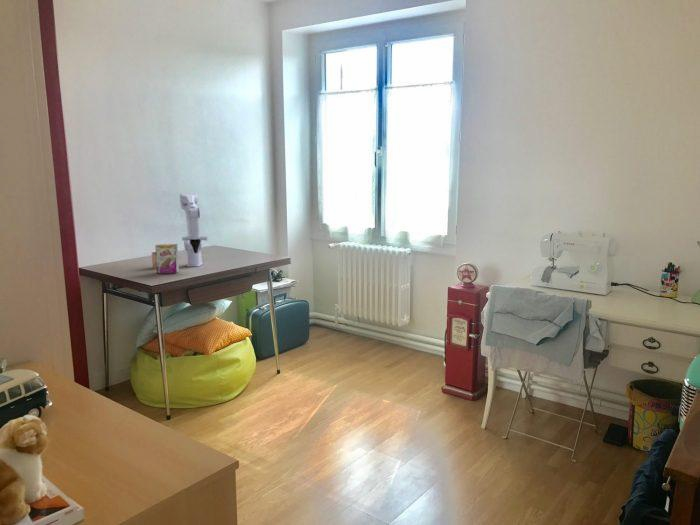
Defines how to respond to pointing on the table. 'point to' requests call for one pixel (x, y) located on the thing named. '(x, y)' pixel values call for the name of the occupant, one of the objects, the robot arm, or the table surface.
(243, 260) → the table surface
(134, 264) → the table surface
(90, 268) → the table surface
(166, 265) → the candy bar box
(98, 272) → the table surface
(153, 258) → the terracotta pencil cup
